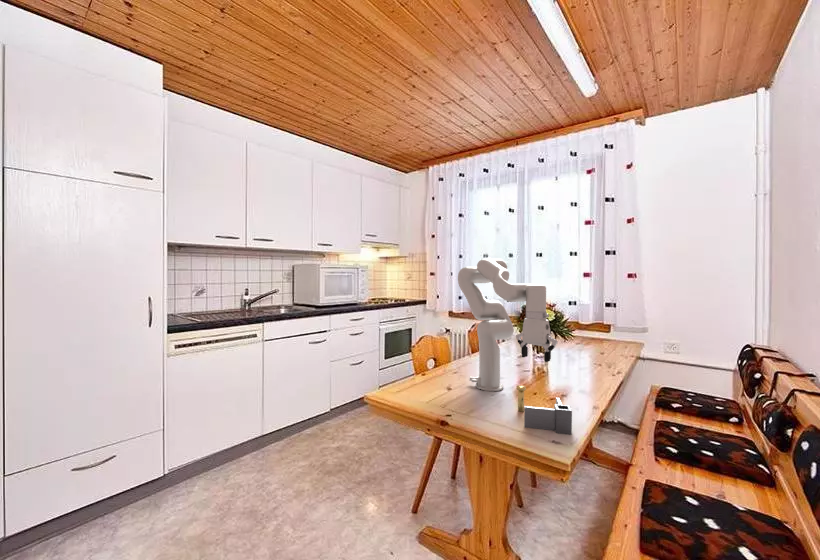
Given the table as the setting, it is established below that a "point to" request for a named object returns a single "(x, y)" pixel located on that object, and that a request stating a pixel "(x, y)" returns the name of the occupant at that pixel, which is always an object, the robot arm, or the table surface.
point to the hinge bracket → (549, 418)
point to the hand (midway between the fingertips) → (535, 359)
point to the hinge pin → (520, 397)
